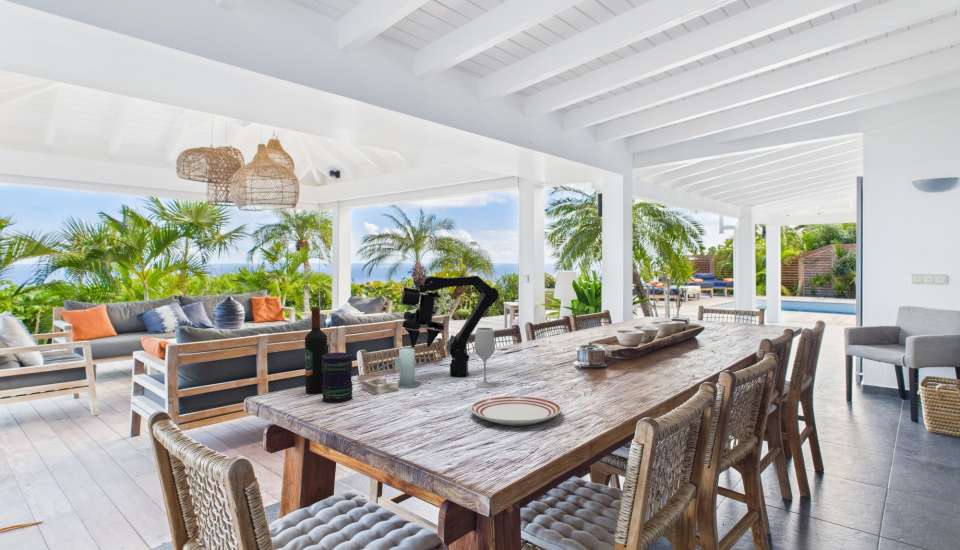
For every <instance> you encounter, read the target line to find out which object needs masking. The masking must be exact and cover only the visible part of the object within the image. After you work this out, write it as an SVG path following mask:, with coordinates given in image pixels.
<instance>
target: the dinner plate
mask: <svg viewBox="0 0 960 550" xmlns="http://www.w3.org/2000/svg"><path fill="white" fill-rule="evenodd" d="M562 410H563V407H562V406H561V405H560V404H559V402H556V401H554V400H550V399H548V398H544V397H538V396H529V395H502V396H501V395H499V396H492V397H487V398H483V399H480V400H477V401H473V403H471V404H470V406H469V411H470V412H471V413H472V414H474V416H477V417H478V418H479V419H480V418H481V419H483V420H487V421H488V422H491V423H494V424H498V425H504V426H529V425H535V424H539V423H541V422H545V421H547V420H550V419H552V418H555V417H556V416H557V415H559V414H560V413H561V412H562Z"/></svg>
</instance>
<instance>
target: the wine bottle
mask: <svg viewBox="0 0 960 550" xmlns="http://www.w3.org/2000/svg"><path fill="white" fill-rule="evenodd" d="M320 312H321V307H320V306H311V329H310V331H309V332H308V333H307V334H306V335H305V336H304V361H305V362H304V365H305V367H304V370H305V371H304V373H305V393H306V394H307V395H320V394H322V384H323V373H322V360H323V359H322V355H324V354H328V337H327V334H326V333H325V332H323V331H322V329H321V313H320ZM322 395H323V394H322Z"/></svg>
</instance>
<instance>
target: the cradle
mask: <svg viewBox="0 0 960 550" xmlns="http://www.w3.org/2000/svg"><path fill="white" fill-rule="evenodd" d="M362 389H363V390H362ZM361 390H362V391H365V392H367V391H368V392H367V393H369V392H370V393H369V394H372V393H373V394H372V395H374V394H378V395H381V394H380V393H383V394H386V393H385V392H388V393H392V392H391V391H393V392H397V391H396V390H398V391H399V388H398V381H393V382H388V383H387V377H378V378H373V379H367V380H361Z"/></svg>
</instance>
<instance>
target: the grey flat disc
mask: <svg viewBox="0 0 960 550" xmlns="http://www.w3.org/2000/svg"><path fill="white" fill-rule="evenodd" d="M397 382H398V389H399V388H410V389H416V388H419V387H421V386H422V385H421V384H422V382H421V381H419V380H415V384H414V385H410V386H403V385H400V382H399V380H398V381H397ZM420 385H421V386H420ZM418 386H419V387H418ZM415 387H416V388H415Z"/></svg>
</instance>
